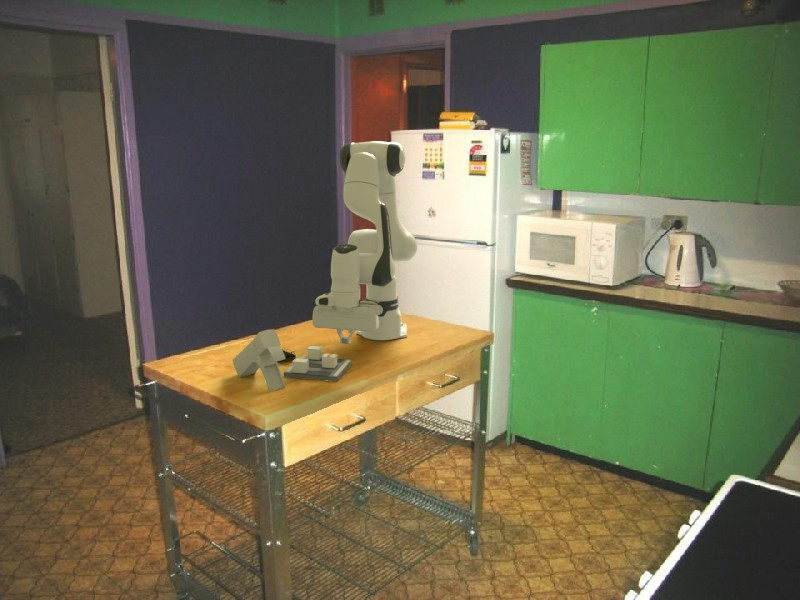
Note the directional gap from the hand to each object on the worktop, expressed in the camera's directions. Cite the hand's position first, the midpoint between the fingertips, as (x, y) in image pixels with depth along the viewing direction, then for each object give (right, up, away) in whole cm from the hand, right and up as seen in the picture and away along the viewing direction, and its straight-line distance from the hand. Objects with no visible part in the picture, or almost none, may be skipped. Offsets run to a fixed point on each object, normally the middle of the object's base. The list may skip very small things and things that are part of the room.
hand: (345, 343), depth 203 cm
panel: (-9, -9, +5) cm, 13 cm away
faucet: (-25, -11, -5) cm, 28 cm away
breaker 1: (-13, -8, -1) cm, 16 cm away
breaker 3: (-5, -7, +3) cm, 10 cm away
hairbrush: (-26, -5, +21) cm, 34 cm away
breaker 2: (-11, -5, +11) cm, 16 cm away
